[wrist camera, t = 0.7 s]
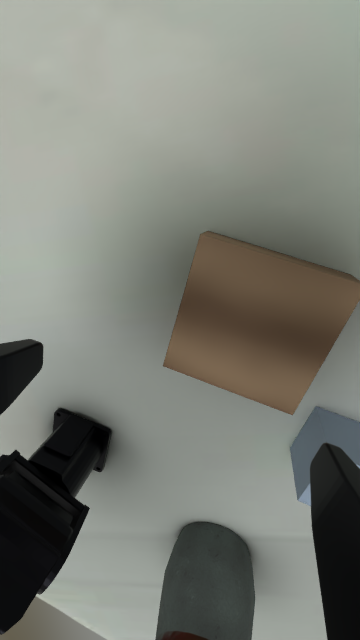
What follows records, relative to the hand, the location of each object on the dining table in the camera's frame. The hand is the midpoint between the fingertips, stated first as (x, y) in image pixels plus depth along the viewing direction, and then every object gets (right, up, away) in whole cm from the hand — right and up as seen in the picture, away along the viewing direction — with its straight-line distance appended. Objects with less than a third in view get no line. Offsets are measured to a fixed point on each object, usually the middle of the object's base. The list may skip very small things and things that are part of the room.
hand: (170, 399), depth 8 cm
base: (+6, +3, +13) cm, 14 cm away
